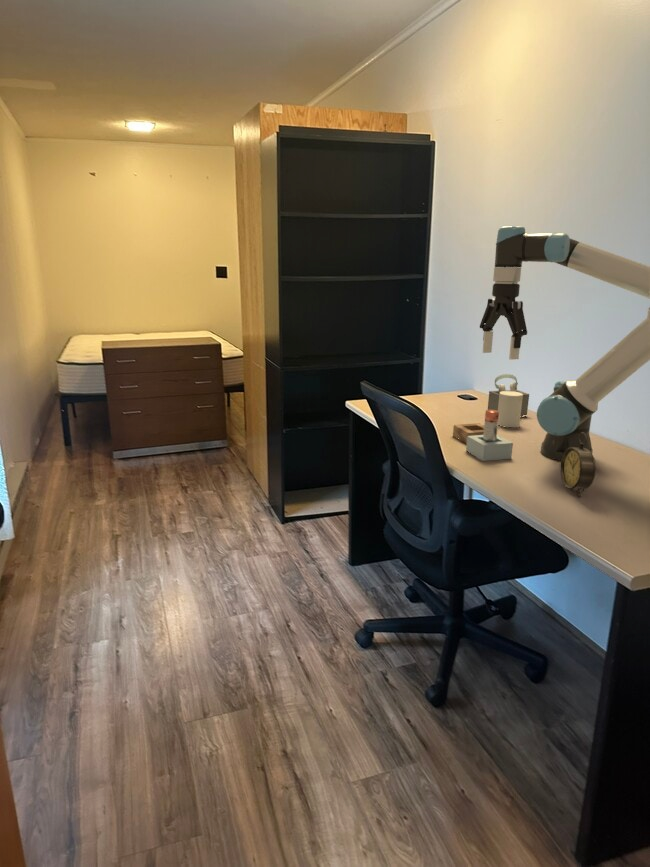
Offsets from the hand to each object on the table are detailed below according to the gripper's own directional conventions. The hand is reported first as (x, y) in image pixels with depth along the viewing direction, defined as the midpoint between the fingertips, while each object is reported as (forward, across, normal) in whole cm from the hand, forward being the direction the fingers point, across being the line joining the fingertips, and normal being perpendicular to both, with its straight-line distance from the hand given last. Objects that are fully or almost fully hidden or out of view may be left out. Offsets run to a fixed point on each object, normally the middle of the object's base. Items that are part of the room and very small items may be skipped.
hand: (499, 355), depth 178 cm
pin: (+31, -1, +2) cm, 31 cm away
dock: (+31, -1, +2) cm, 31 cm away
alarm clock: (+31, -34, -3) cm, 46 cm away
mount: (+31, +15, -3) cm, 34 cm away
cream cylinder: (+31, +27, -26) cm, 49 cm away
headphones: (+28, +42, -38) cm, 63 cm away
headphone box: (+31, +40, -34) cm, 61 cm away
